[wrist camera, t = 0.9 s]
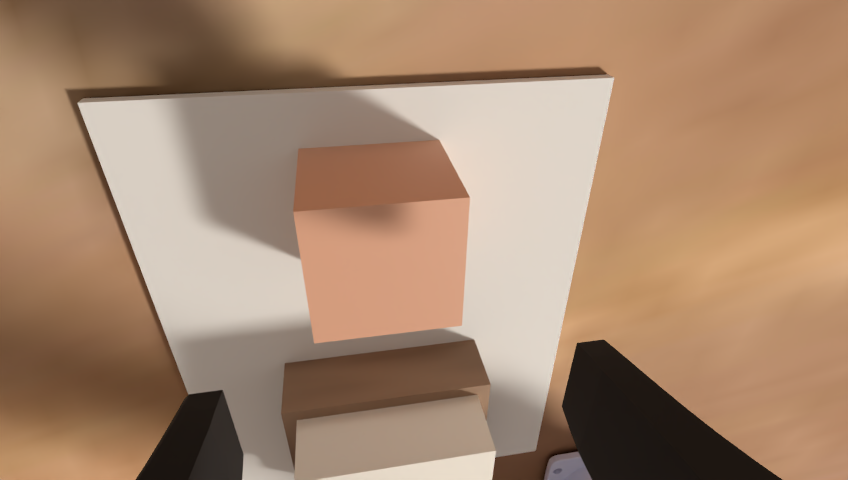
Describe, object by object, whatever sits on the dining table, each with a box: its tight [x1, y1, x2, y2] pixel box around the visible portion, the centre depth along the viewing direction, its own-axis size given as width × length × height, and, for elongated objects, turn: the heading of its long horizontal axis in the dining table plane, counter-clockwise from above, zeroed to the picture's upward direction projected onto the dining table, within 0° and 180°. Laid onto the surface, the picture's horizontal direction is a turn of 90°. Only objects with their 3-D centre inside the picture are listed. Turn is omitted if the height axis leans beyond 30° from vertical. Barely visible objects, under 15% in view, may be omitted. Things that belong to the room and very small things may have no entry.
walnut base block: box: [281, 340, 491, 471], centre depth 22 cm, size 8×8×2 cm
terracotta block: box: [293, 140, 470, 344], centre depth 16 cm, size 4×4×4 cm
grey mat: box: [78, 74, 614, 480], centre depth 21 cm, size 20×16×1 cm
